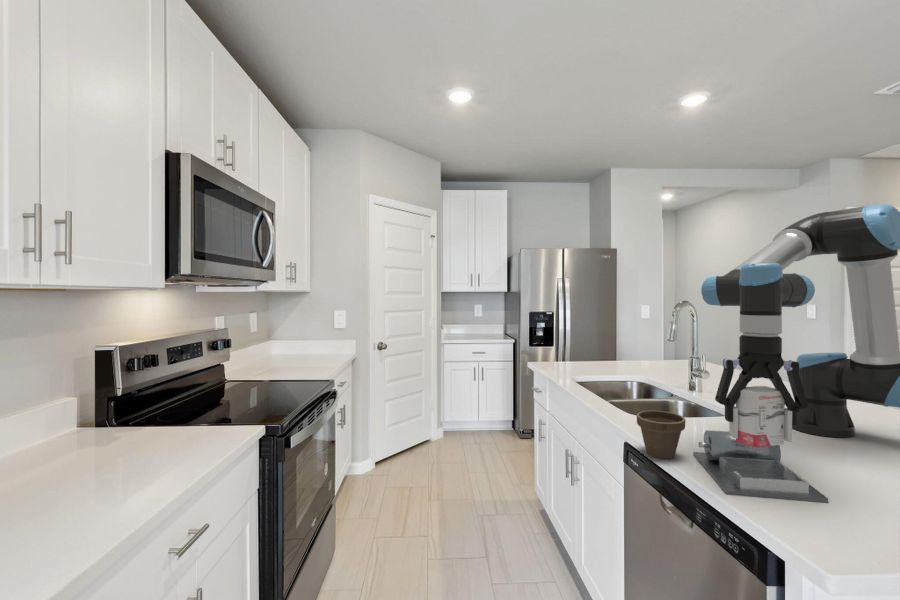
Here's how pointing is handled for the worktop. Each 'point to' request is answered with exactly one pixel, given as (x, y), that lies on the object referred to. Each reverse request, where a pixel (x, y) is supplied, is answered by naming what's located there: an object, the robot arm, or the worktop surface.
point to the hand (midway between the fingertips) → (759, 438)
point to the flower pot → (660, 432)
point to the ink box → (761, 417)
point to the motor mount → (752, 470)
